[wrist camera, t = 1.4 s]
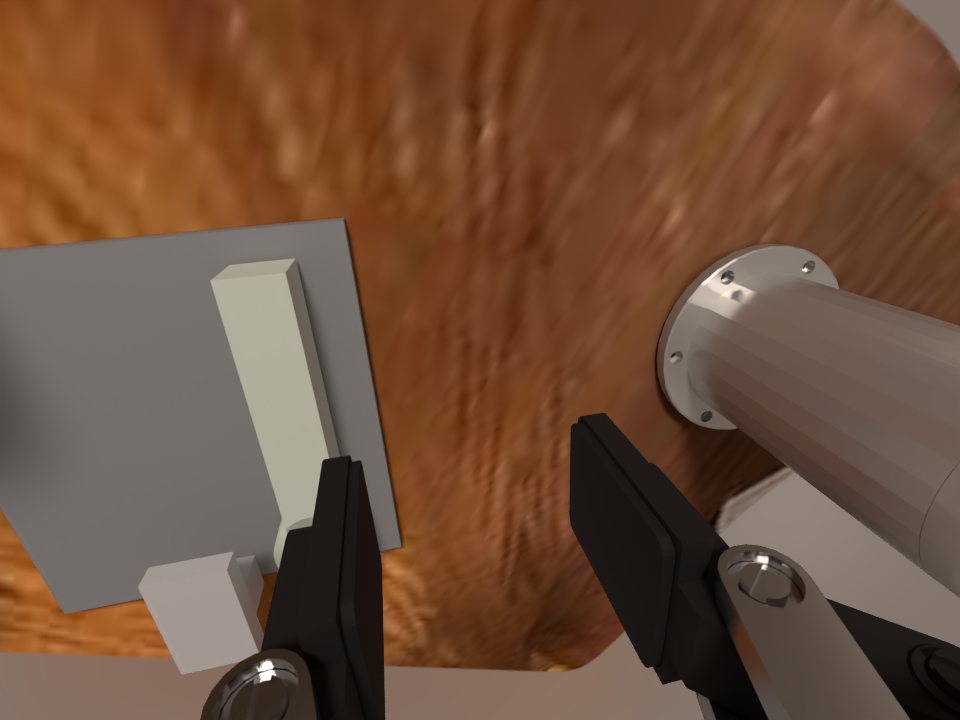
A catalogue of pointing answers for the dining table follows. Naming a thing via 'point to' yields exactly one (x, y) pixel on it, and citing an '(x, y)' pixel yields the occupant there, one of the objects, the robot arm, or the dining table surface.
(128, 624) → the dining table surface
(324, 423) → the link
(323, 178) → the dining table surface
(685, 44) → the dining table surface
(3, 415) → the board
